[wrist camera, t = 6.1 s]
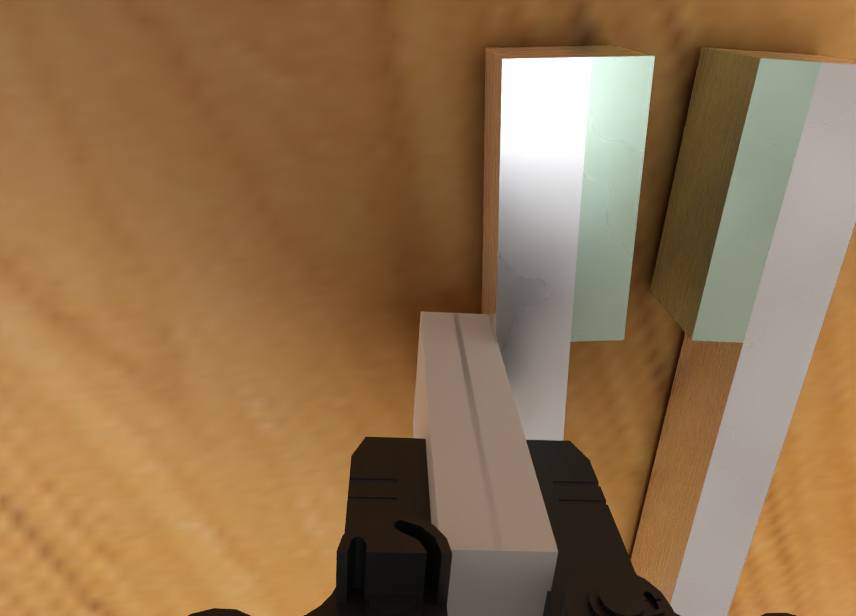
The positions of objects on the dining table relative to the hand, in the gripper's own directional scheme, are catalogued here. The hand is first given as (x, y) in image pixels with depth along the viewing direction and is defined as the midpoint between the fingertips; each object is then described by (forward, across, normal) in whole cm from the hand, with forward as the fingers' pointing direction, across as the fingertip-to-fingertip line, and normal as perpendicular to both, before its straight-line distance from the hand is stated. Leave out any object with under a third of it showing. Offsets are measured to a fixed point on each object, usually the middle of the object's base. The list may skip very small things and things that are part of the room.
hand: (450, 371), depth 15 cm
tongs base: (+1, +4, -4) cm, 6 cm away
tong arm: (+1, +2, -2) cm, 3 cm away
